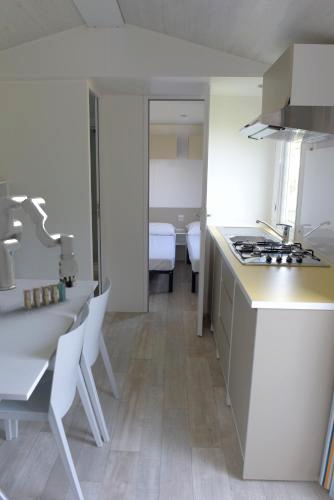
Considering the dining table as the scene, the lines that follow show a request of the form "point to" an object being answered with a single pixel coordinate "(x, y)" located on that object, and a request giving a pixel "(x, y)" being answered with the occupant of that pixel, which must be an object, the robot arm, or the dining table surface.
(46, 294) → the domino
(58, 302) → the slate mat
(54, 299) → the domino
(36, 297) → the domino
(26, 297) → the domino
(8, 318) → the dining table surface
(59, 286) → the teal domino
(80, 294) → the dining table surface
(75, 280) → the coffee box
